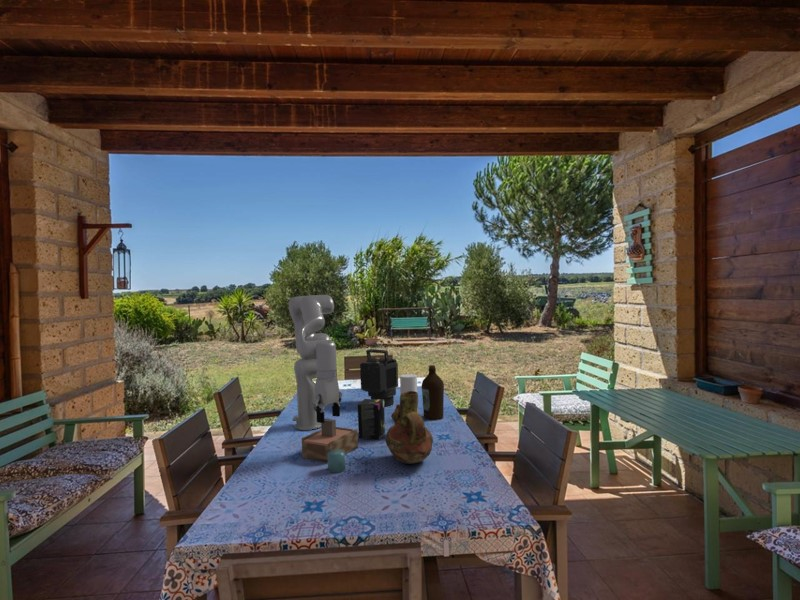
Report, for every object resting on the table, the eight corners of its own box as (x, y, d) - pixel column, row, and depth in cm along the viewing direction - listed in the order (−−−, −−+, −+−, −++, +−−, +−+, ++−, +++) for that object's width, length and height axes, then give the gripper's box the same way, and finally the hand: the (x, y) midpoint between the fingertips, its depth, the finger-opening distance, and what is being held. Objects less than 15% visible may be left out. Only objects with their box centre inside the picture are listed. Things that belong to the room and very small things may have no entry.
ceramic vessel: (415, 445, 183) (413, 382, 182) (447, 467, 159) (445, 395, 159) (374, 452, 176) (372, 387, 176) (401, 477, 152) (399, 401, 152)
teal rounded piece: (324, 471, 159) (323, 454, 159) (334, 465, 165) (334, 448, 164) (338, 474, 157) (338, 456, 156) (348, 467, 162) (348, 450, 162)
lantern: (401, 402, 253) (399, 347, 252) (383, 410, 238) (381, 352, 237) (379, 399, 261) (377, 346, 260) (359, 407, 246) (357, 350, 245)
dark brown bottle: (438, 413, 229) (436, 363, 228) (448, 418, 219) (447, 366, 219) (418, 416, 225) (417, 365, 224) (428, 421, 215) (427, 368, 214)
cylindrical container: (406, 437, 193) (404, 377, 192) (398, 433, 199) (397, 375, 199) (421, 434, 196) (419, 376, 196) (413, 430, 202) (411, 373, 202)
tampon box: (379, 440, 191) (378, 404, 190) (358, 439, 193) (357, 404, 192) (385, 432, 201) (384, 398, 201) (365, 431, 203) (364, 398, 203)
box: (331, 443, 189) (330, 425, 188) (357, 447, 183) (357, 428, 182) (302, 458, 173) (301, 438, 173) (330, 463, 167) (329, 442, 167)
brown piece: (329, 430, 186) (329, 413, 186) (352, 433, 181) (352, 416, 181) (303, 442, 172) (303, 424, 172) (327, 446, 167) (327, 427, 167)
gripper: (332, 370, 185) (334, 413, 185) (304, 377, 170) (306, 424, 170) (348, 371, 182) (349, 414, 182) (320, 378, 167) (322, 426, 167)
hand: (328, 419), depth 176 cm, fingers open, 9 cm apart
